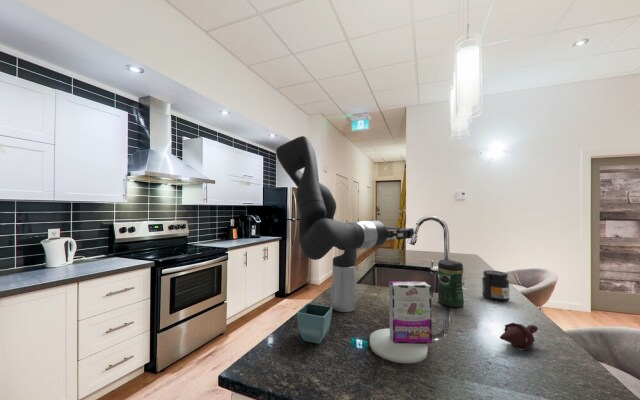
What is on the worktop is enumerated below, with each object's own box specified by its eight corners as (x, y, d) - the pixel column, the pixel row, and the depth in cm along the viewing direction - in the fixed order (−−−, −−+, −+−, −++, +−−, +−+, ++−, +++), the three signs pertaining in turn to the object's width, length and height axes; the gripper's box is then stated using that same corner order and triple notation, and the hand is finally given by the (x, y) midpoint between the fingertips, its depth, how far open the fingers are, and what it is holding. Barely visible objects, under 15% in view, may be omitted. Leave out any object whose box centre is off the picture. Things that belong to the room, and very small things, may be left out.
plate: (364, 355, 71) (364, 348, 71) (374, 330, 86) (374, 325, 86) (428, 369, 65) (428, 361, 65) (427, 340, 80) (427, 334, 80)
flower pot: (332, 335, 82) (332, 306, 83) (323, 349, 74) (324, 316, 74) (306, 330, 85) (307, 302, 86) (295, 343, 77) (296, 312, 77)
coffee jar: (467, 306, 109) (467, 261, 110) (454, 309, 106) (454, 263, 107) (447, 299, 118) (446, 257, 119) (434, 301, 115) (434, 259, 115)
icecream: (517, 335, 70) (551, 332, 76) (492, 318, 77) (525, 316, 82) (509, 358, 71) (544, 353, 77) (485, 339, 78) (518, 335, 84)
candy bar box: (425, 336, 79) (425, 281, 80) (432, 344, 74) (432, 285, 75) (388, 335, 79) (388, 280, 80) (392, 343, 74) (392, 285, 75)
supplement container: (512, 304, 113) (511, 276, 113) (483, 300, 117) (483, 273, 118) (507, 297, 122) (506, 271, 123) (480, 294, 127) (480, 269, 127)
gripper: (387, 222, 67) (421, 219, 77) (347, 219, 78) (382, 217, 88) (387, 251, 67) (421, 245, 77) (347, 244, 78) (382, 240, 88)
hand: (400, 230), depth 83 cm, fingers open, 8 cm apart
